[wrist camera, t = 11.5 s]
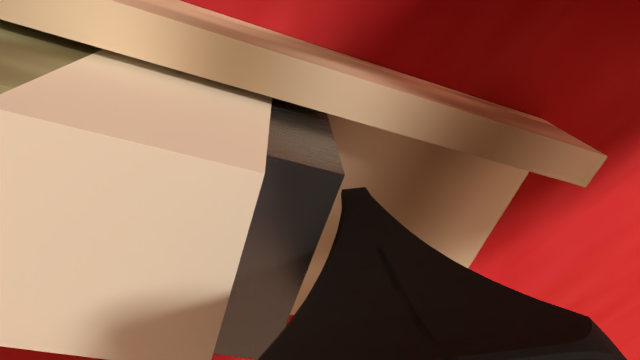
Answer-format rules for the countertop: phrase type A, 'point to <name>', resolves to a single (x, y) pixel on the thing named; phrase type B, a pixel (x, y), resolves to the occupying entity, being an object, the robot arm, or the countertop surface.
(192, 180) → the beige wooden cube
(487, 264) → the countertop surface
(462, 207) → the shelf
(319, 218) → the bookend
